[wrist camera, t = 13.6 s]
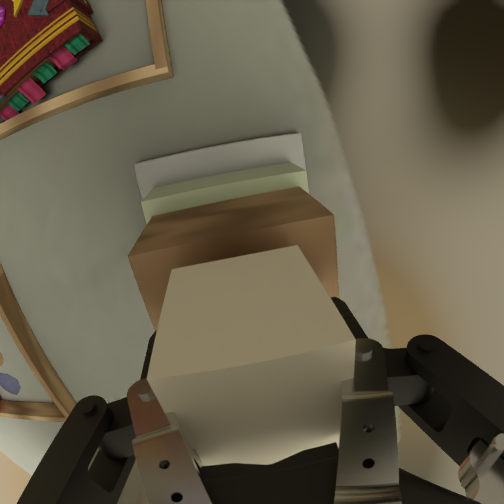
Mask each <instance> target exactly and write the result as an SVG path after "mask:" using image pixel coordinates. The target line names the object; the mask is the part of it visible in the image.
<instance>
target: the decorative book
mask: <svg viewBox="0 0 504 504" xmlns="http://www.w3.org/2000/svg"><path fill="white" fill-rule="evenodd" d="M91 13H93V11H92V9H91V7H90V5H89V3H88V1H87V0H0V124H1V123H3V122H5V121H7V120H8V119H10V118H12V117H14V116H16V115H18V114H20V113H19V112H17V111H19V110H21V109H22V108H23V107H24V106H25V105H26V104H27V103H28V102H29V100H30V101H31V102H32V104H33V105H34V104H35V103H36V102H37V101H38V100H40V99H41V98H42V97H43V96H44V95H46V93H45V92H44V91H43V90H42V89H41V88H40V86H42V85H43V84H44V83H45V82H47V81H48V80H49V79H50V78H51V77H53V76H54V75H55V74H56V73H57V72H59V71H60V70H61V69H62V70H65V69H67V68H68V67H69V66H71V65H72V64H73V63H75V62H76V61H77V60H78V59H76V58H77V57H79V56H80V55H81V54H83V53H84V52H86V51H87V50H89V49H90V48H91V47H93V46H94V45H96V44H97V43H99V42H100V41H102V39H101V37H100V35H99V33H98V31H97V29H96V27H95V25H94V23H93V21H92V19H91V17H90V14H91Z"/></svg>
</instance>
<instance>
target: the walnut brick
mask: <svg viewBox="0 0 504 504" xmlns="http://www.w3.org/2000/svg"><path fill="white" fill-rule="evenodd" d="M295 245H298V247H299V248H300V250H301V251H302V253H303V255H304V256H305V258H306V259H307V261H308V262H309V264H310V266H311V267H312V269H313V270H314V272H315V274H316V275H317V277H318V278H319V280H320V282H321V283H322V285H323V286H324V288H325V290H326V291H327V293H328V295H329V296H330V298H331V297H337V298H339V287H338V267H337V251H336V236H335V223H334V215H333V214H332V213H331V212H330V211H329V210H328V209H326V208H325V207H324V206H323V205H322V204H320V203H319V202H318V201H317V200H316V199H314V198H313V197H312V196H311V195H309V194H308V193H307V192H306V191H305V190H303V189H302V188H301V187H294V188H288V189H282V190H277V191H271V192H266V193H261V194H255V195H250V196H245V197H240V198H235V199H230V200H225V201H220V202H215V203H210V204H205V205H201V206H196V207H191V208H187V209H182V210H178V211H173V212H169V213H164V214H160V215H156V216H152V217H151V219H150V221H149V222H148V224H147V225H146V227H145V229H144V230H143V232H142V234H141V235H140V237H139V238H138V240H137V242H136V243H135V245H134V247H133V248H132V250H131V252H130V254H129V255H128V258H129V261H130V264H131V267H132V270H133V273H134V276H135V279H136V281H137V284H138V287H139V290H140V292H141V295H142V298H143V300H144V303H145V306H146V308H147V311H148V313H149V316H150V319H151V321H152V324H153V326H154V329H155V331H156V330H157V328H158V323H159V319H160V315H161V311H162V306H163V302H164V298H165V294H166V290H167V286H168V282H169V278H170V274H171V270H172V269H176V268H181V267H186V266H191V265H197V264H202V263H207V262H212V261H217V260H223V259H228V258H233V257H238V256H243V255H248V254H254V253H259V252H264V251H269V250H274V249H279V248H285V247H290V246H295Z"/></svg>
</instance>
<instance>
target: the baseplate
mask: <svg viewBox="0 0 504 504" xmlns="http://www.w3.org/2000/svg"><path fill="white" fill-rule="evenodd" d="M289 162H292V163H294V164H295V165H297V166H299V167H301V168H302V169H304V170H306V167H305V159H304V151H303V144H302V136H301V133H289V134H281V135H274V136H267V137H261V138H254V139H248V140H242V141H236V142H230V143H225V144H219V145H214V146H209V147H204V148H199V149H194V150H189V151H185V152H180V153H175V154H171V155H167V156H162V157H158V158H154V159H150V160H146V161H142V162H138V163H136V164H134V169H135V173H136V177H137V181H138V186H139V190H140V194H141V198H142V200H143V199H144V198H145V197H146V196H147V194H148V193H149V192H150V191H151V190H152V189H153V188H157V187H161V186H166V185H170V184H175V183H179V182H184V181H189V180H193V179H198V178H203V177H208V176H213V175H219V174H224V173H229V172H235V171H240V170H246V169H252V168H258V167H264V166H270V165H276V164H283V163H289Z"/></svg>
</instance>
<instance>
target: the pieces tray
mask: <svg viewBox="0 0 504 504" xmlns="http://www.w3.org/2000/svg"><path fill="white" fill-rule="evenodd" d="M0 315H1V317H2V319H3V321H4V323H5V325H6V327H7V329H8V331H9V333H10V334H11V336H12V338H13V340H14V341H15V343H16V345H17V347H18V348H19V350H20V352H21V353H22V355H23V357H24V358H25V360H26V362H27V363H28V365H29V366H30V368H31V370H32V371H33V373H34V374H35V376H36V377H37V379H38V380H39V382H40V383H41V385H42V386H43V388H44V389H45V390H46V392H47V393H48V395H49V396H50V397H51V399H52V400H53V402H54V403H37V402H18V401H5V400H0V416H2V417H10V418H18V419H28V420H40V421H55V422H65V421H66V419H67V418H68V416H69V414H70V413H71V411H72V410H73V408H74V407H75V405H76V404H77V403H76V402H75V401H74V399H73V398H72V396H71V395H70V393H69V392H68V390H67V389H66V387H65V386H64V384H63V383H62V381H61V380H60V378H59V377H58V375H57V374H56V372H55V370H54V369H53V367H52V366H51V364H50V362H49V361H48V359H47V357H46V356H45V354H44V352H43V350H42V349H41V347H40V345H39V343H38V342H37V340H36V338H35V336H34V334H33V333H32V331H31V329H30V327H29V325H28V323H27V321H26V319H25V317H24V315H23V313H22V311H21V309H20V307H19V305H18V303H17V301H16V299H15V296H14V294H13V292H12V290H11V288H10V285H9V283H8V281H7V278H6V276H5V274H4V271H3V269H2V266H1V265H0Z"/></svg>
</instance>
